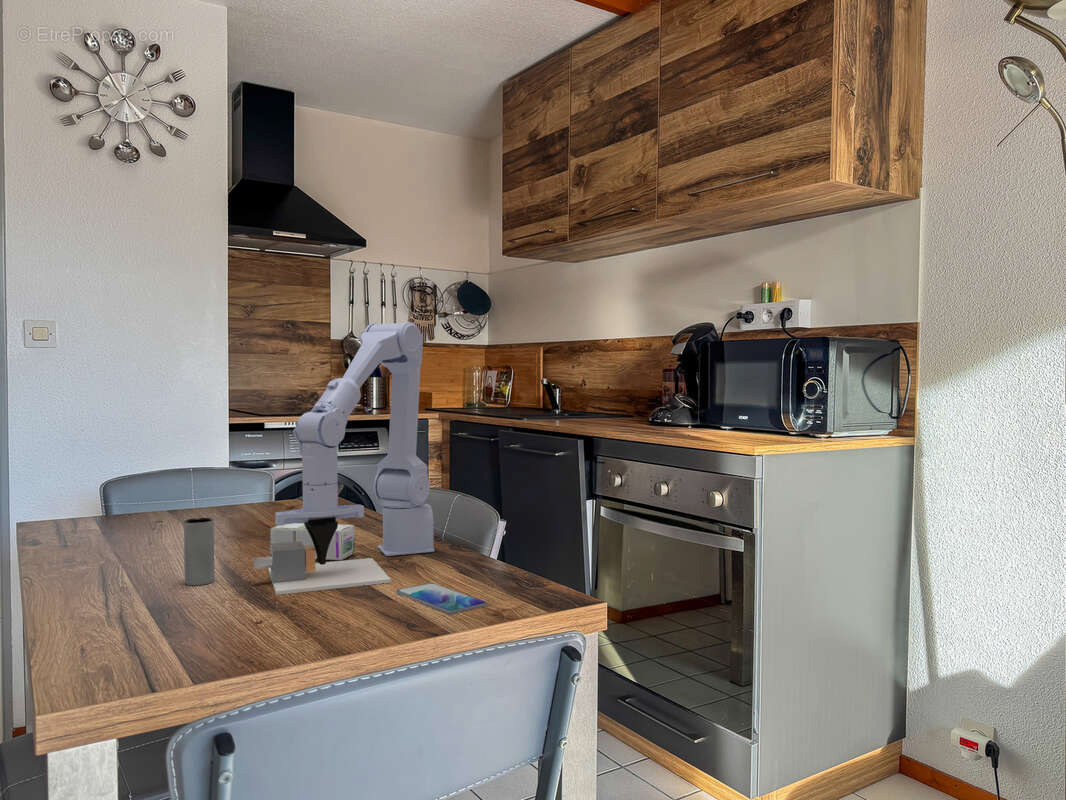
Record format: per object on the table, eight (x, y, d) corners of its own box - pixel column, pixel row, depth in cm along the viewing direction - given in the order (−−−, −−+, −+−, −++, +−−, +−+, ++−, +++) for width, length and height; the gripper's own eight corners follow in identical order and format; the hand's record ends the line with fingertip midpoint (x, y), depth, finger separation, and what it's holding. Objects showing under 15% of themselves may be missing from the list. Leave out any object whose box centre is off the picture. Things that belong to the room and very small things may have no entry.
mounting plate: (371, 561, 142) (371, 557, 142) (390, 582, 127) (390, 579, 127) (268, 571, 135) (268, 567, 135) (275, 595, 120) (275, 591, 120)
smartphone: (432, 582, 126) (489, 602, 115) (432, 587, 126) (489, 608, 115) (393, 589, 121) (450, 611, 110) (393, 595, 121) (449, 617, 110)
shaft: (312, 566, 132) (312, 545, 132) (315, 571, 128) (315, 549, 128) (253, 571, 128) (253, 550, 128) (254, 577, 125) (254, 555, 125)
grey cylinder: (220, 579, 129) (219, 518, 129) (200, 586, 125) (199, 523, 125) (198, 577, 131) (197, 516, 131) (178, 584, 127) (177, 521, 126)
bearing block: (301, 571, 132) (301, 541, 132) (305, 579, 127) (305, 548, 127) (270, 574, 130) (270, 543, 130) (273, 583, 125) (272, 551, 125)
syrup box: (269, 558, 145) (342, 562, 142) (269, 526, 144) (342, 530, 141) (285, 550, 150) (355, 555, 147) (285, 520, 150) (355, 524, 147)
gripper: (354, 477, 137) (354, 553, 138) (270, 483, 130) (271, 564, 130) (367, 481, 131) (368, 561, 132) (280, 488, 124) (282, 573, 124)
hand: (321, 563), depth 131 cm, fingers closed
